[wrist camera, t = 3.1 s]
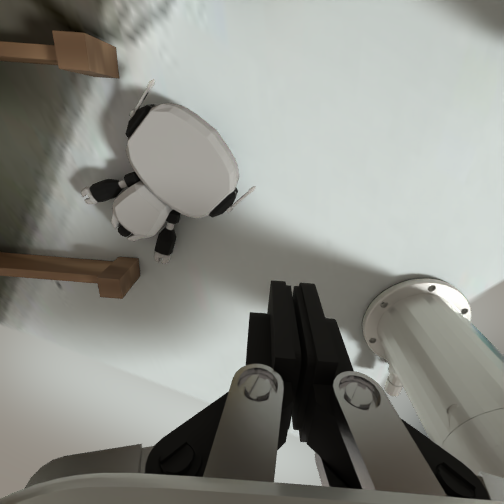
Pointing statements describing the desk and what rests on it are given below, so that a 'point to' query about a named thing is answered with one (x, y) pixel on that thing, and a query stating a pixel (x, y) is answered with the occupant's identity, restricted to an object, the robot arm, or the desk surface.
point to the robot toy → (169, 174)
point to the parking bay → (60, 268)
